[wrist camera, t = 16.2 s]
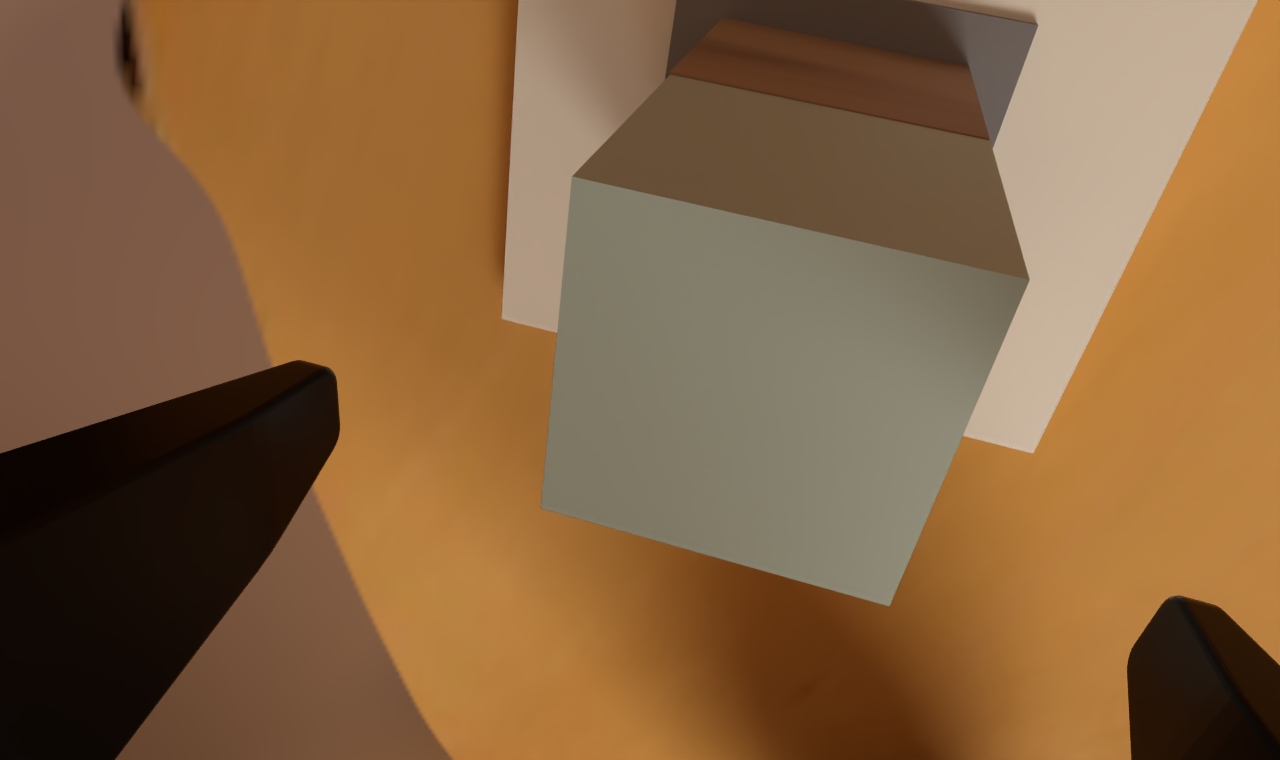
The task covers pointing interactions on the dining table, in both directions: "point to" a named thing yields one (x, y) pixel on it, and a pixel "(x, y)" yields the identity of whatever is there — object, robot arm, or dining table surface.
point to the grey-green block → (776, 330)
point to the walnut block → (837, 76)
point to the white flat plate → (1012, 109)
